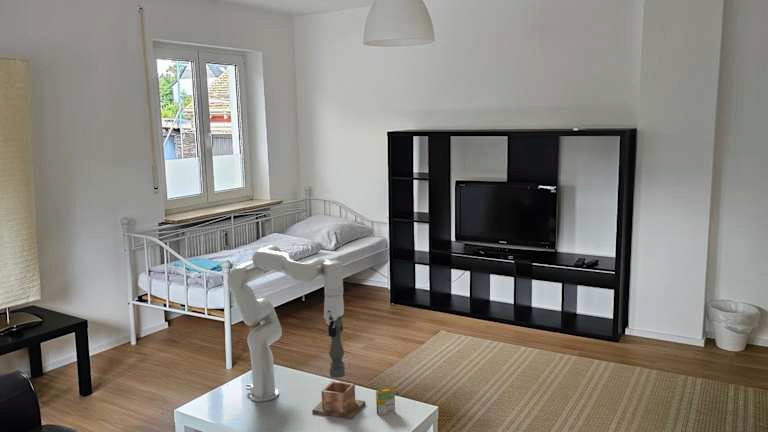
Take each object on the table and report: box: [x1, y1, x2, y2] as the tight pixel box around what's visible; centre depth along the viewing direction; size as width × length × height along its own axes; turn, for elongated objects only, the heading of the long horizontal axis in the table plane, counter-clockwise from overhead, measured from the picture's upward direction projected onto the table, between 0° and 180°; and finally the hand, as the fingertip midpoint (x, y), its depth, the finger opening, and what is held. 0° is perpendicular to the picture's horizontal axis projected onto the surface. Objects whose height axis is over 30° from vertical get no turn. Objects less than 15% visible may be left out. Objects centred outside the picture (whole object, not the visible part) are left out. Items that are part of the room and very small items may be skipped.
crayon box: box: [375, 386, 396, 416], centre depth 259 cm, size 7×3×12 cm, turn 106°
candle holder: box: [328, 316, 346, 379], centre depth 260 cm, size 6×6×25 cm
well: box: [311, 380, 366, 420], centre depth 264 cm, size 18×14×10 cm
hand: (335, 333), depth 260 cm, fingers closed on candle holder, 5 cm apart
